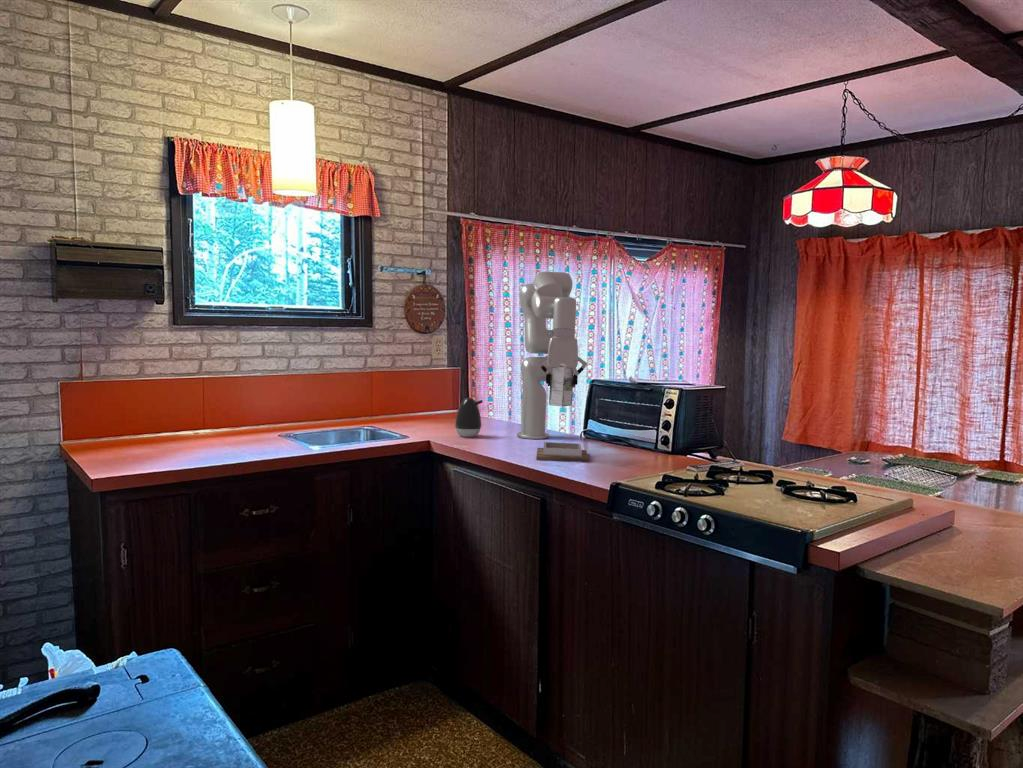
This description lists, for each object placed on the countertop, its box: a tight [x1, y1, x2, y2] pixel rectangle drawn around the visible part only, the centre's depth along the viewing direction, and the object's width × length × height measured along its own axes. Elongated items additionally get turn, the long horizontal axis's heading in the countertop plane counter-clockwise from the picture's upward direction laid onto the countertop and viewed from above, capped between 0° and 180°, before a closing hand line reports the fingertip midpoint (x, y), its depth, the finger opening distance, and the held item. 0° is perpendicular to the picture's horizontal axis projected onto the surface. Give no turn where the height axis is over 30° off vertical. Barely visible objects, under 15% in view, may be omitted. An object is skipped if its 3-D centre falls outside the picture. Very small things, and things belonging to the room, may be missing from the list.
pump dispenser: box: [454, 397, 484, 438], centre depth 287 cm, size 10×10×15 cm
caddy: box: [535, 441, 589, 463], centre depth 251 cm, size 17×17×4 cm
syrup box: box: [548, 363, 574, 407], centre depth 249 cm, size 6×6×14 cm
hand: (561, 386), depth 249 cm, fingers closed on syrup box, 8 cm apart
